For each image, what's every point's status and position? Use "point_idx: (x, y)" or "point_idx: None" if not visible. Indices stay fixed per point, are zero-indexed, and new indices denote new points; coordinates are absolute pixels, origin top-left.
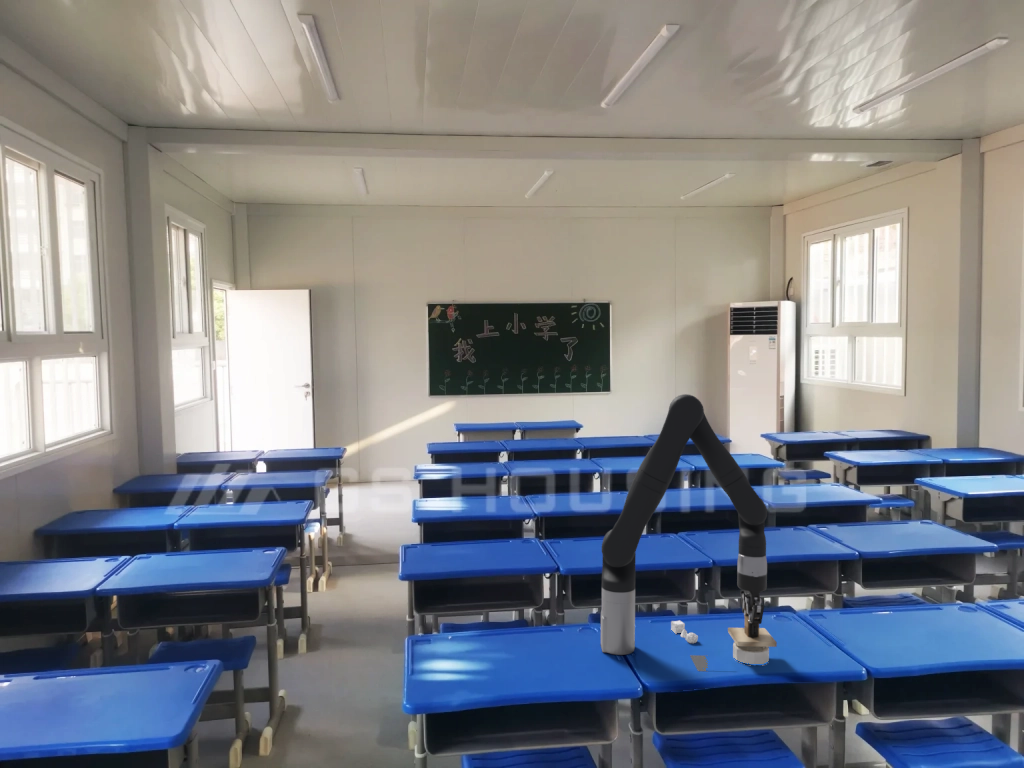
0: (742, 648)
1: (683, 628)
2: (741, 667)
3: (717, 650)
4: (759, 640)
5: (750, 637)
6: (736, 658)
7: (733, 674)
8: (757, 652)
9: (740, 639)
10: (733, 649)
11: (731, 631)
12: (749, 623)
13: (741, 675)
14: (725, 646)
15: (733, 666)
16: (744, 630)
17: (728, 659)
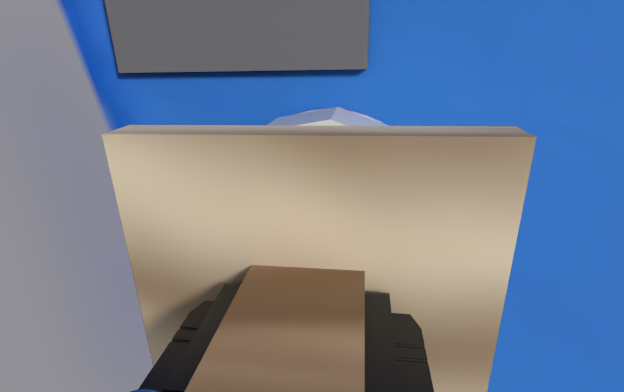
0: None
1: None
2: (218, 124)
3: (506, 24)
4: (176, 329)
5: (236, 283)
6: (283, 117)
7: (105, 44)
8: None
9: (166, 176)
10: (324, 115)
11: (395, 144)
12: (175, 388)
13: (104, 92)
14: (577, 109)
15: (225, 76)
16: (361, 283)
17: (335, 71)
